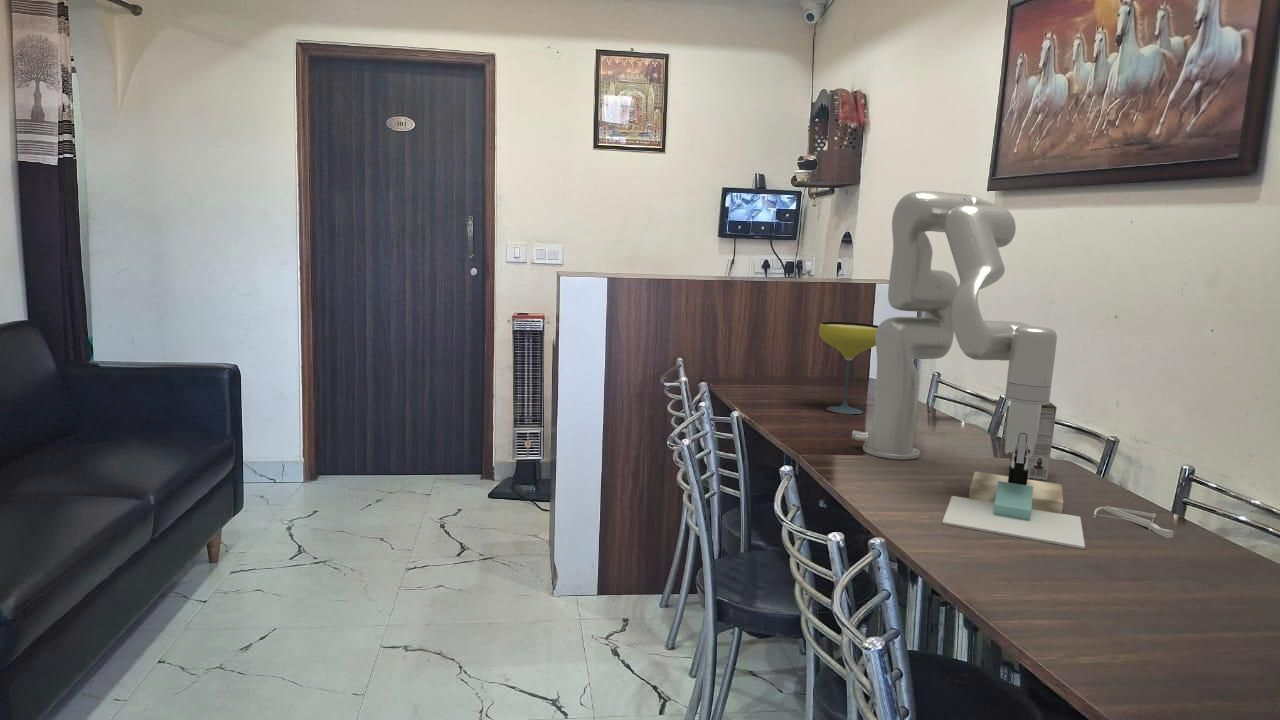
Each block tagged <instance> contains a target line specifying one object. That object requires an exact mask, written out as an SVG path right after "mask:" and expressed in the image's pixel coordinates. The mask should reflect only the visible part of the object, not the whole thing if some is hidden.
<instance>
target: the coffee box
mask: <svg viewBox="0 0 1280 720" xmlns="http://www.w3.org/2000/svg"><path fill="white" fill-rule="evenodd" d="M1057 409H1058V408H1057V406H1055V404H1053V403H1052V402H1051V401H1049V404H1046V405H1042V407H1041V414H1040V422H1039V429H1038V435H1037V440H1036V445H1035V449H1034V453H1033V456H1031V457H1029V458H1028V466H1027V469H1028V477H1027V479H1030V478H1033V479H1032V480H1041V479H1042V481H1048V476H1049V470H1050V469H1049V468H1050V463H1051V462H1050V461H1051V453H1052V447H1053V446H1052V445H1053V439H1054V438H1053V437H1054V430H1055V423H1056V414H1057ZM1015 450H1016V449H1015ZM1012 453H1013V451H1012ZM1012 453H1011V452H1009V462H1008V464H1009V465H1008V467H1009V468H1010V466H1011V464H1012ZM1014 465H1015V464H1014Z"/></svg>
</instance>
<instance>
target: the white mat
mask: <svg viewBox="0 0 1280 720" xmlns="http://www.w3.org/2000/svg"><path fill="white" fill-rule="evenodd" d="M994 505H995V503H993V502H987V501H981V500H975V499H969V497H962V496H954V495H951V497H950V500H949V503H948V505H947V507H946V511H945V513H944V516H943V519H942V523H941V525H946V526H947V525H948V526H952V527H959V528H964V529H969V530H976V531H980V532H986V533H990V534H991V533H992V534H998V535H1004V536H1009V537H1014V538H1019V539H1026V540H1031V541H1037V542H1042V543H1049V544H1054V545H1061V546H1065V547H1069V548H1076V549H1081V550H1085V549H1086V545H1085V544H1086V543H1085V539H1084V538H1085V537H1084V532H1083V525H1082V519H1081V516H1078V515H1072V514H1068V513H1067V514H1066V513H1062V514H1061V513H1055V512H1048V511H1042V510H1036V509H1031V517H1030V520H1024V519H1018V518H1012V517H1006V516H1000V515H995V514H994Z"/></svg>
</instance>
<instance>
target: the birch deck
mask: <svg viewBox="0 0 1280 720" xmlns="http://www.w3.org/2000/svg"><path fill="white" fill-rule="evenodd" d="M1008 478H1009V475H1001V474H994V473H987V472H981V471H974V473H973V476H972V478H971V482H970V486H969V490H968V491H969V493H968V498H969V499H975V500H981V501H987V502H993V503H995V498H996V492H997V485H998V481H1001V482H1008ZM1027 485H1028V486H1033V495H1032V508H1031V509H1036V510H1042V511H1048V512H1055V513H1061V514H1063V509H1064V508H1063V507H1064V497H1063V496H1064V494H1063V487H1062V484H1060V483H1055V482H1050V481H1049V482H1048V481H1043V480H1042V481H1040V480H1036V479H1030V478H1027Z"/></svg>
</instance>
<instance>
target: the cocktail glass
mask: <svg viewBox="0 0 1280 720" xmlns="http://www.w3.org/2000/svg"><path fill="white" fill-rule="evenodd" d="M878 326H879V325H877V324H870V323H861V322H860V323H859V322H849V321H848V322H847V321H846V322H845V321H823V322H820V324H819V326H818V335H819V337H820V338H821V339H822V340H823V342H825V343H826V344H828V345H830V346H831V347H832V348H833V349H836V350H837V351H838V352H840V353H841V355H842V357H843V358H844V359H845V360H846V361H847V363H846V365H847V366H846V374H845V386H844V394H843V399H842V403H841V405H837V406H836V405H833V406H827V407H828V409H829V410H831V411H833V412H839V413H847V414H861V413H863V412H864V411H863V410H862V411H861V409H859V408H855V407H851V406H849V405H848V386H849V374H850V364H851V363H850V362H851V361H853V360H854V358H855V357H856V356H857V355H858V354H860V353H862V352H865V351H867V350H869V349H872V348H874V347H876V340H875V337H876V331H877V328H878ZM863 414H864V413H863ZM861 415H862V414H861Z"/></svg>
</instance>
